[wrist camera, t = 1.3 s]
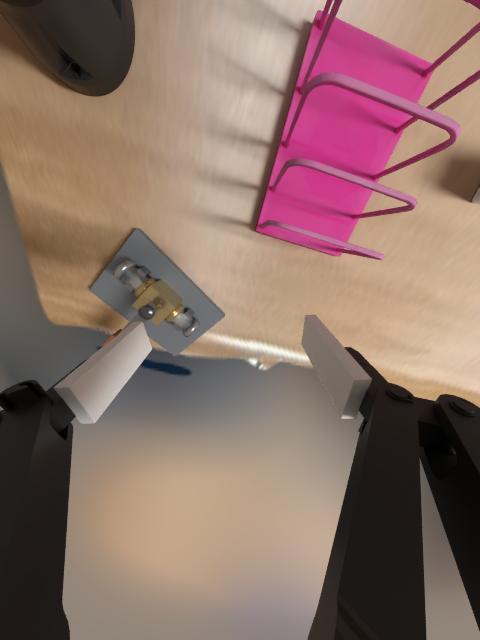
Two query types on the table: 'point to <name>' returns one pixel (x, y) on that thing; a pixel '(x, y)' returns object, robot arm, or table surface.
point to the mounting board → (161, 268)
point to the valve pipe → (156, 297)
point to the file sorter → (347, 133)
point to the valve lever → (140, 317)
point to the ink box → (476, 197)
